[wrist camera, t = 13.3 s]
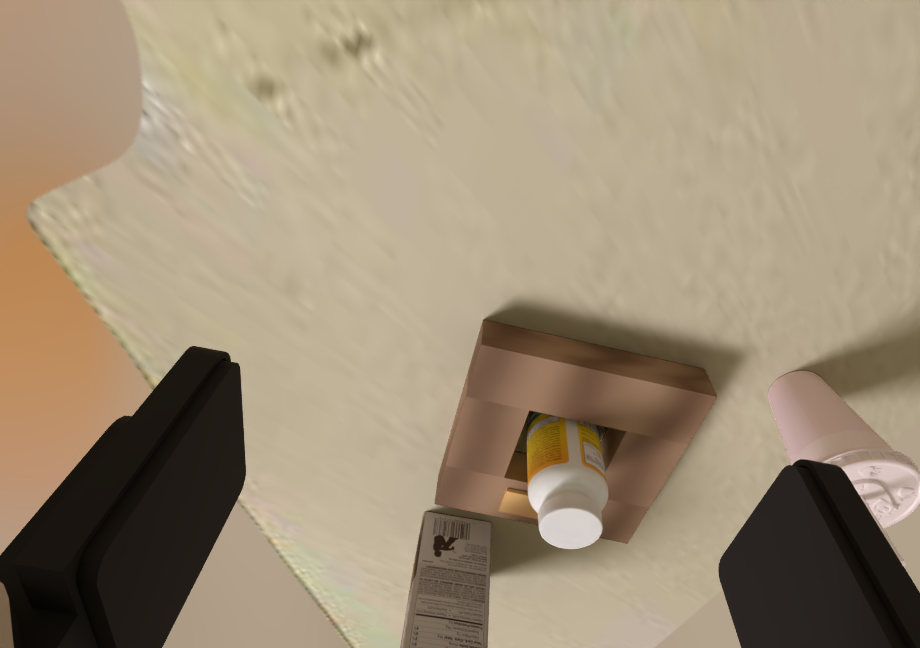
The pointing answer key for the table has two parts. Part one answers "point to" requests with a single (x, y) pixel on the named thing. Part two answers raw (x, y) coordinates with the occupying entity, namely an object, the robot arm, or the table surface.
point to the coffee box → (449, 584)
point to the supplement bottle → (566, 479)
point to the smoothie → (844, 446)
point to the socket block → (574, 397)
